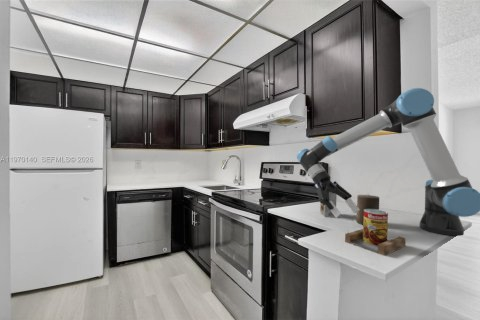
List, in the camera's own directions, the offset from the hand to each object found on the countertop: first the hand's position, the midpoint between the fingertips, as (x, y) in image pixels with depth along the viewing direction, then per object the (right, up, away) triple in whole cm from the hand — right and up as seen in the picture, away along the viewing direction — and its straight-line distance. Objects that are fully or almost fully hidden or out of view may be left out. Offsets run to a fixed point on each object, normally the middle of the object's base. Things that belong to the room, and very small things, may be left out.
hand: (348, 213), depth 94 cm
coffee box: (+4, -9, +32) cm, 34 cm away
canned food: (+6, -9, -9) cm, 14 cm away
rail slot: (+6, -9, -9) cm, 14 cm away
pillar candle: (+18, -9, +18) cm, 27 cm away
